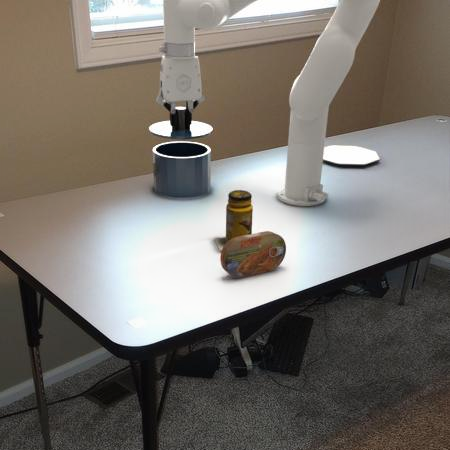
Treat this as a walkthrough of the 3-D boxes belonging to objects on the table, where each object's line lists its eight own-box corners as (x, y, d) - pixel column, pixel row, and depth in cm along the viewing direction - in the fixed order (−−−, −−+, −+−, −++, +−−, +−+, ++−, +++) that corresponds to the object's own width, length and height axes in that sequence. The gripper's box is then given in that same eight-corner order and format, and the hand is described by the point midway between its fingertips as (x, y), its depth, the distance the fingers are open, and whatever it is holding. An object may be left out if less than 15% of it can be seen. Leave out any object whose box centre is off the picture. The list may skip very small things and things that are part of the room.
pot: (221, 192, 181) (222, 151, 174) (174, 203, 173) (173, 161, 167) (189, 177, 191) (189, 138, 184) (144, 187, 183) (141, 147, 177)
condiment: (256, 249, 151) (258, 197, 143) (220, 251, 149) (221, 200, 142) (248, 236, 156) (250, 186, 149) (213, 239, 155) (214, 189, 147)
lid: (225, 135, 172) (225, 110, 168) (171, 145, 164) (171, 119, 160) (189, 121, 182) (188, 98, 179) (137, 130, 174) (136, 105, 170)
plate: (382, 169, 201) (383, 164, 200) (319, 167, 201) (319, 162, 200) (372, 150, 216) (372, 146, 215) (313, 149, 216) (313, 144, 215)
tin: (224, 281, 137) (225, 243, 132) (217, 275, 139) (218, 238, 134) (285, 268, 142) (288, 231, 137) (278, 262, 145) (280, 226, 140)
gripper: (152, 54, 156) (155, 134, 167) (215, 51, 161) (214, 129, 172) (143, 49, 162) (147, 126, 173) (205, 46, 167) (205, 122, 178)
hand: (180, 127), depth 172 cm, fingers closed on lid, 2 cm apart
